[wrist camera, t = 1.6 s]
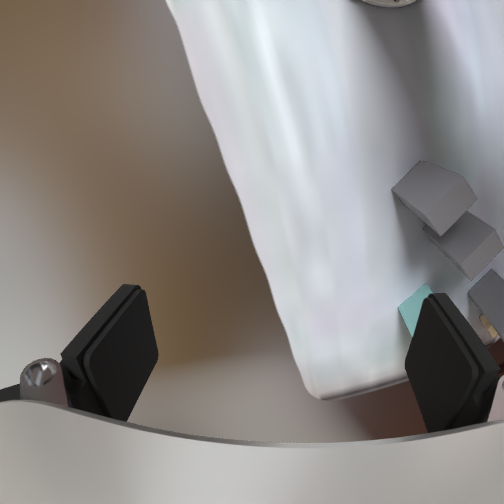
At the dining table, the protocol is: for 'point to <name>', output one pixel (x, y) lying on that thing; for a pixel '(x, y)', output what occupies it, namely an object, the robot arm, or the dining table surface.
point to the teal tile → (414, 307)
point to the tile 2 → (468, 244)
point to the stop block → (488, 326)
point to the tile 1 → (435, 195)
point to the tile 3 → (490, 300)
